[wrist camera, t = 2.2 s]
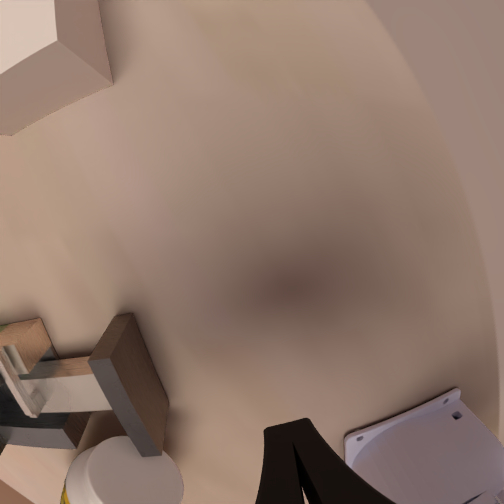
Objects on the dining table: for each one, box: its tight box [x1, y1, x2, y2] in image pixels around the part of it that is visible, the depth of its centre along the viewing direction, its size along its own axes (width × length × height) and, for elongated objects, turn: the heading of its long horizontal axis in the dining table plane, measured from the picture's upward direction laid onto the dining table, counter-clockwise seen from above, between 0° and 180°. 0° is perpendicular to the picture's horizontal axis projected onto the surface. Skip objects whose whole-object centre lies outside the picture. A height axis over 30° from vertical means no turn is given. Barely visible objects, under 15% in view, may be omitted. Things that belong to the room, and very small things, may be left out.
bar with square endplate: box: [0, 313, 169, 457], centre depth 13 cm, size 7×6×4 cm
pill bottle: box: [60, 436, 184, 504], centre depth 13 cm, size 6×6×11 cm
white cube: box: [0, 0, 114, 136], centre depth 8 cm, size 6×6×6 cm
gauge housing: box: [0, 318, 90, 455], centre depth 13 cm, size 7×7×4 cm
